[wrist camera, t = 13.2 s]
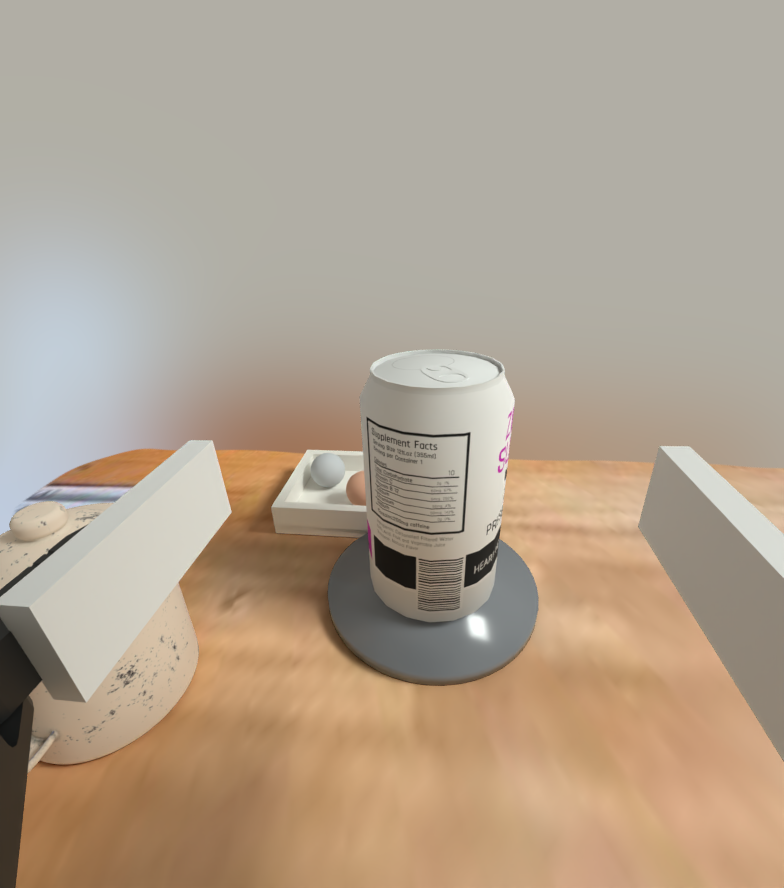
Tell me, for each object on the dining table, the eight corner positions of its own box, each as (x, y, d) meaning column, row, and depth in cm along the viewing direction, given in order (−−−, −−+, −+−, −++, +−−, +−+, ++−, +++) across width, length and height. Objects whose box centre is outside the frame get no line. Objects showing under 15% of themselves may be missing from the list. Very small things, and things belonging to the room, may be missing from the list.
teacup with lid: (90, 617, 28) (16, 462, 23) (227, 616, 28) (184, 459, 23) (-100, 856, 17) (-321, 667, 12) (121, 857, 17) (-6, 665, 12)
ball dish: (406, 475, 43) (406, 453, 42) (395, 539, 34) (394, 513, 33) (310, 472, 44) (307, 449, 43) (275, 532, 35) (271, 507, 34)
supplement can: (355, 560, 31) (338, 357, 24) (453, 530, 34) (463, 341, 27) (400, 650, 24) (395, 404, 18) (519, 603, 27) (553, 376, 20)
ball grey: (349, 476, 42) (347, 447, 40) (342, 494, 39) (339, 464, 37) (317, 475, 42) (314, 446, 41) (308, 493, 39) (304, 462, 38)
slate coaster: (519, 530, 35) (520, 522, 35) (559, 697, 23) (561, 687, 22) (351, 522, 37) (350, 514, 36) (302, 673, 24) (300, 663, 24)
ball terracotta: (386, 495, 39) (384, 464, 37) (381, 516, 36) (379, 484, 34) (351, 493, 39) (348, 463, 38) (343, 514, 36) (340, 482, 35)
